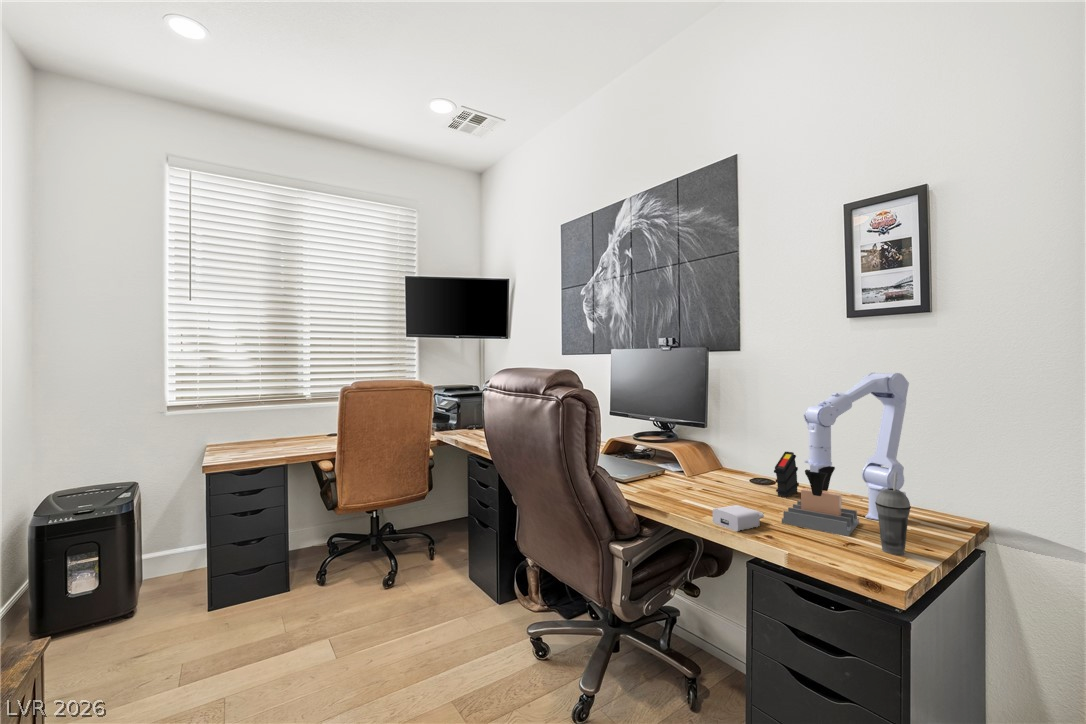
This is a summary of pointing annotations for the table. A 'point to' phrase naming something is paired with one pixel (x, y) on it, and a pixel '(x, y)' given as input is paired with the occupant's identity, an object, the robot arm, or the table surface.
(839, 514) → the plate
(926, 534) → the table surface
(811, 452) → the robot arm
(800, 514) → the rack
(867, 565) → the table surface
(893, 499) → the beverage cup
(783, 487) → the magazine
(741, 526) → the charger
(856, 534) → the table surface
